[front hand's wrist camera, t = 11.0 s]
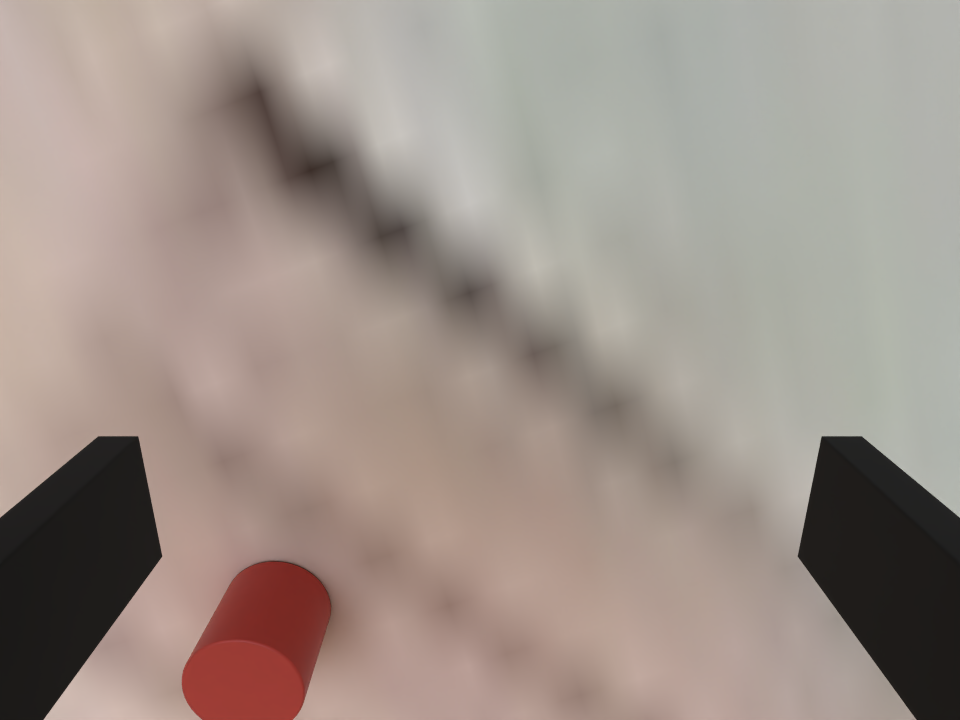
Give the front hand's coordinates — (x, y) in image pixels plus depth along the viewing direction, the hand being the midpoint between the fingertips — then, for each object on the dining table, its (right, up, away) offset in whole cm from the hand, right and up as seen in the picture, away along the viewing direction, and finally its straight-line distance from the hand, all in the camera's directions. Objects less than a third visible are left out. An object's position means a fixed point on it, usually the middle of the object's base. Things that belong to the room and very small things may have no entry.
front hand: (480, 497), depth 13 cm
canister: (-8, -8, +15) cm, 19 cm away
